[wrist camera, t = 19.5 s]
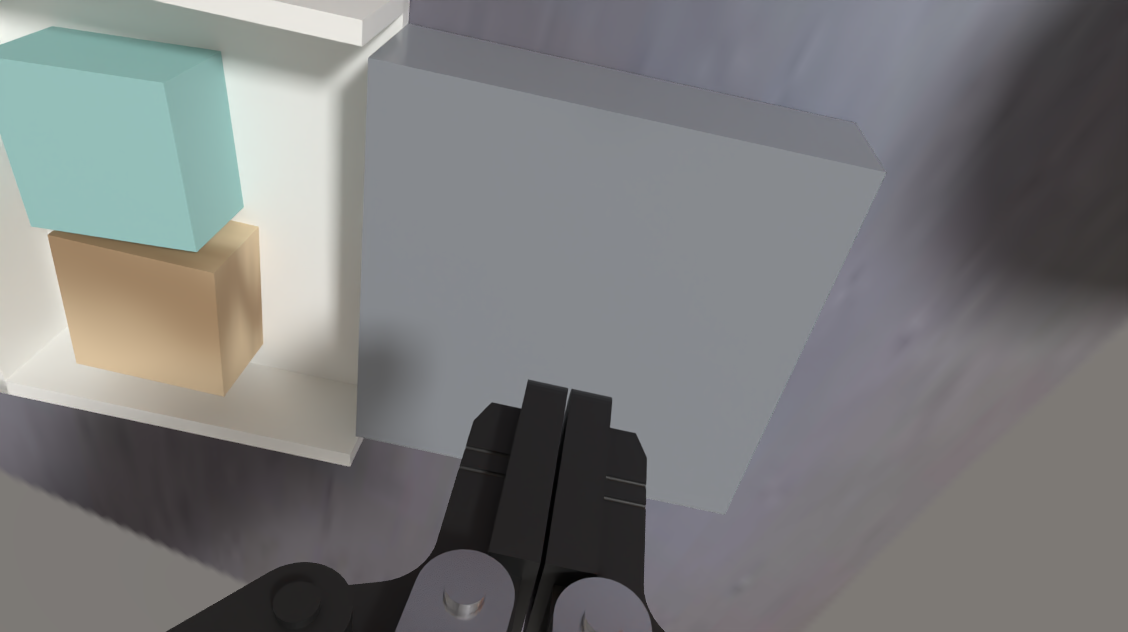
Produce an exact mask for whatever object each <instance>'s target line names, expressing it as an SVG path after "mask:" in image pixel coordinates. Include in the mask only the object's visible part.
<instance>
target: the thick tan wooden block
mask: <svg viewBox="0 0 1128 632" xmlns="http://www.w3.org/2000/svg"><path fill="white" fill-rule="evenodd" d="M47 236H48V240H49V244H50V249H51V253H52V258H53V262H54V266H55V271H56V275H57V280H58V284H59V288H60V293H61V297H62V302H63V306H64V310H65V315H66V319H67V324H68V328H69V332H70V337H71V341H72V346H73V350H74V354H75V359H76V363H77V364H82V365H86V366H91V367H95V368H100V369H104V370H108V371H113V372H117V373H122V374H126V375H130V376H135V377H139V378H144V379H148V380H152V381H157V382H161V383H166V384H170V385H175V386H179V387H183V388H188V389H192V390H197V391H201V392H205V393H210V394H214V395H219V396H223V397H224V396H225V395H226V393H227V392H228V391H229V389H230V388H231V387H232V385H233V384H234V383H235V381H236V380H237V379H238V377H239V376H240V375H241V373H242V372H243V371H244V369H245V368H246V366H247V365H248V364H249V362H250V361H251V360H252V358H253V357H254V356H255V354H256V353H257V352H258V350H259V349H260V348H261V346H262V345H263V324H262V298H261V272H260V246H259V227H258V226H254V225H249V224H245V223H241V222H236V221H232V220H230V221H229V222H228V223H227V224H226V225H225V226H224V227H223V228H222V229H221V230H220V231H219V232H217V233H216V234H215V235H214V236H213V237H212V238H211V239H210V240H209V241H208V242H207V243H206V244H205V245H204V246H203V247H202V248H201V249H200V250H199V251H198V252H192V251H185V250H179V249H172V248H166V247H159V246H153V245H147V244H140V243H134V242H127V241H121V240H114V239H108V238H102V237H95V236H89V235H82V234H76V233H70V232H63V231H57V230H54V231H52V232H51V233H49V234H48V235H47Z"/></svg>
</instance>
